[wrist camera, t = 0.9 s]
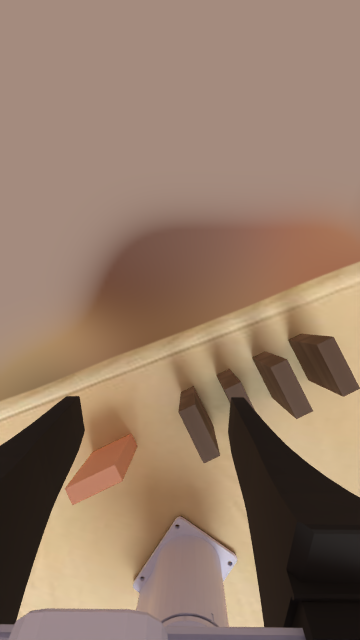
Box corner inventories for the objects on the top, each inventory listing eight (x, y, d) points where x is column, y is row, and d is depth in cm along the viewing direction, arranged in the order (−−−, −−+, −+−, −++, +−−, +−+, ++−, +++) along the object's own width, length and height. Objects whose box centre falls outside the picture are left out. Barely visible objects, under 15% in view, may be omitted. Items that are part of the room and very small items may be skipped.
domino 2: (236, 414, 31) (249, 441, 24) (216, 375, 31) (224, 389, 24) (248, 408, 31) (266, 433, 24) (229, 369, 31) (240, 382, 24)
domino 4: (308, 380, 31) (343, 396, 24) (288, 340, 31) (316, 344, 24) (321, 373, 31) (359, 388, 24) (301, 333, 31) (333, 336, 24)
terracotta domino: (137, 446, 31) (122, 481, 24) (98, 464, 31) (72, 505, 24) (131, 433, 31) (114, 464, 24) (92, 452, 32) (64, 488, 25)
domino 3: (272, 397, 31) (296, 419, 24) (252, 357, 31) (270, 367, 24) (285, 391, 31) (313, 411, 24) (264, 351, 31) (287, 359, 24)
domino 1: (200, 432, 31) (203, 463, 24) (181, 392, 31) (178, 412, 24) (213, 426, 31) (220, 455, 24) (193, 386, 31) (194, 404, 24)
